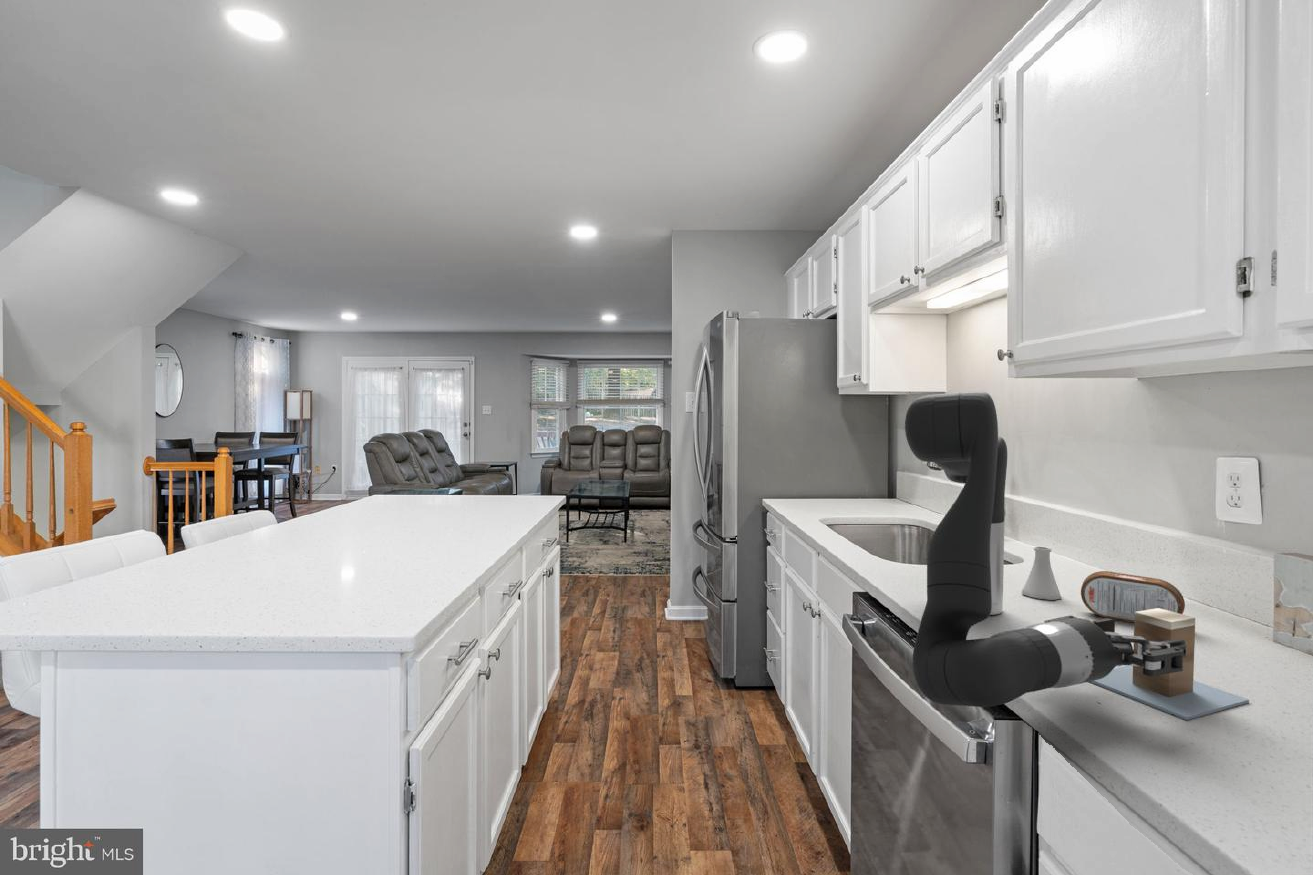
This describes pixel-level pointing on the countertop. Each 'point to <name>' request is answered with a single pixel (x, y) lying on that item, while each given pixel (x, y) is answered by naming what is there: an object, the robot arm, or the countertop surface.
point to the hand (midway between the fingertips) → (1145, 636)
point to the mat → (1181, 705)
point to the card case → (1157, 629)
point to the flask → (1041, 577)
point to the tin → (1128, 595)
